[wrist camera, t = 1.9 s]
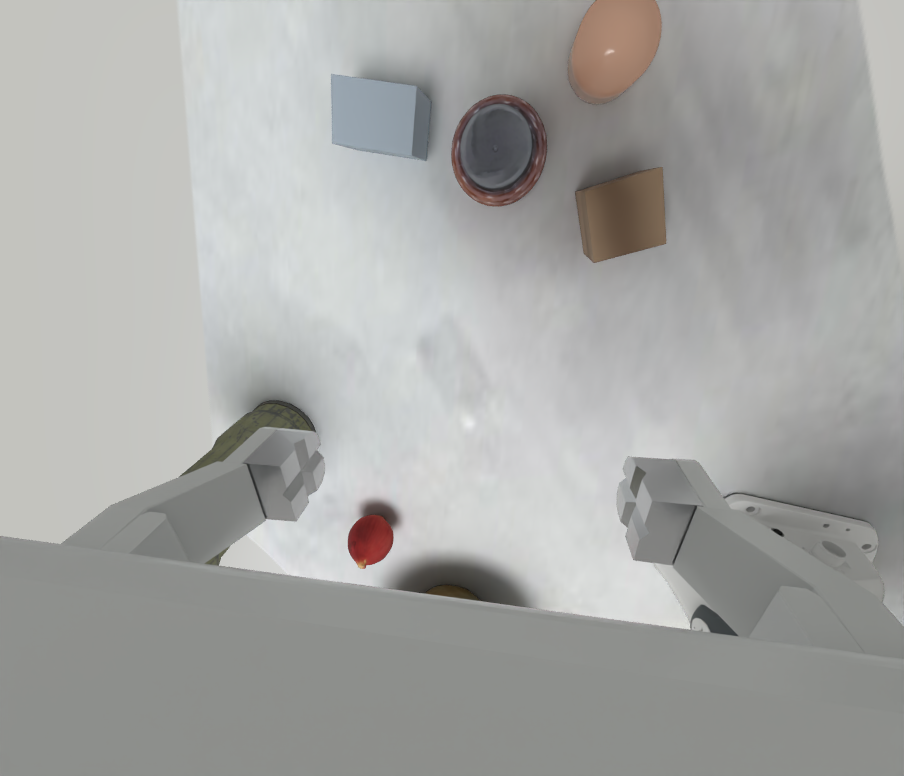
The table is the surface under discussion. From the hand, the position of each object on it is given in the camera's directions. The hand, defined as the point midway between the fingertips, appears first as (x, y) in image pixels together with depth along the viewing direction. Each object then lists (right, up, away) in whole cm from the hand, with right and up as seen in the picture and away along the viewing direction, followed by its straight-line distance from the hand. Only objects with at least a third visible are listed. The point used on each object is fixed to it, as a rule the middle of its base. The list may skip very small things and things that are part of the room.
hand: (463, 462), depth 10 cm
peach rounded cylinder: (+11, +25, +17) cm, 32 cm away
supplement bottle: (+4, +20, +21) cm, 29 cm away
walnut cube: (+13, +16, +21) cm, 30 cm away
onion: (-10, -16, +42) cm, 47 cm away
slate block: (-5, +23, +20) cm, 31 cm away
